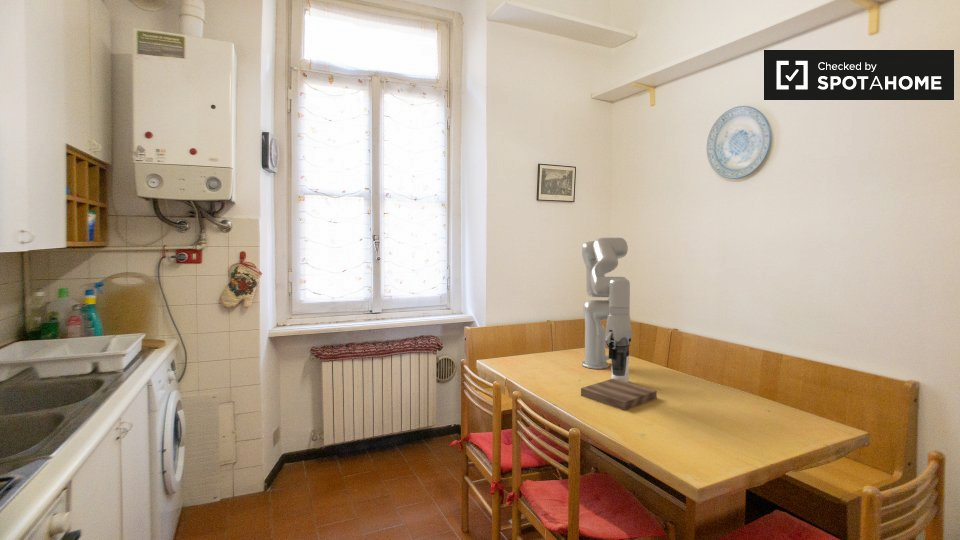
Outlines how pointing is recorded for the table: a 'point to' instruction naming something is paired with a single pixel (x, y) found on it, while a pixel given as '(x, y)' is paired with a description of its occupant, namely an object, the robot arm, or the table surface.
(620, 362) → the beverage cup
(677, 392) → the table surface
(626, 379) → the water bottle
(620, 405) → the walnut base board
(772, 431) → the table surface
